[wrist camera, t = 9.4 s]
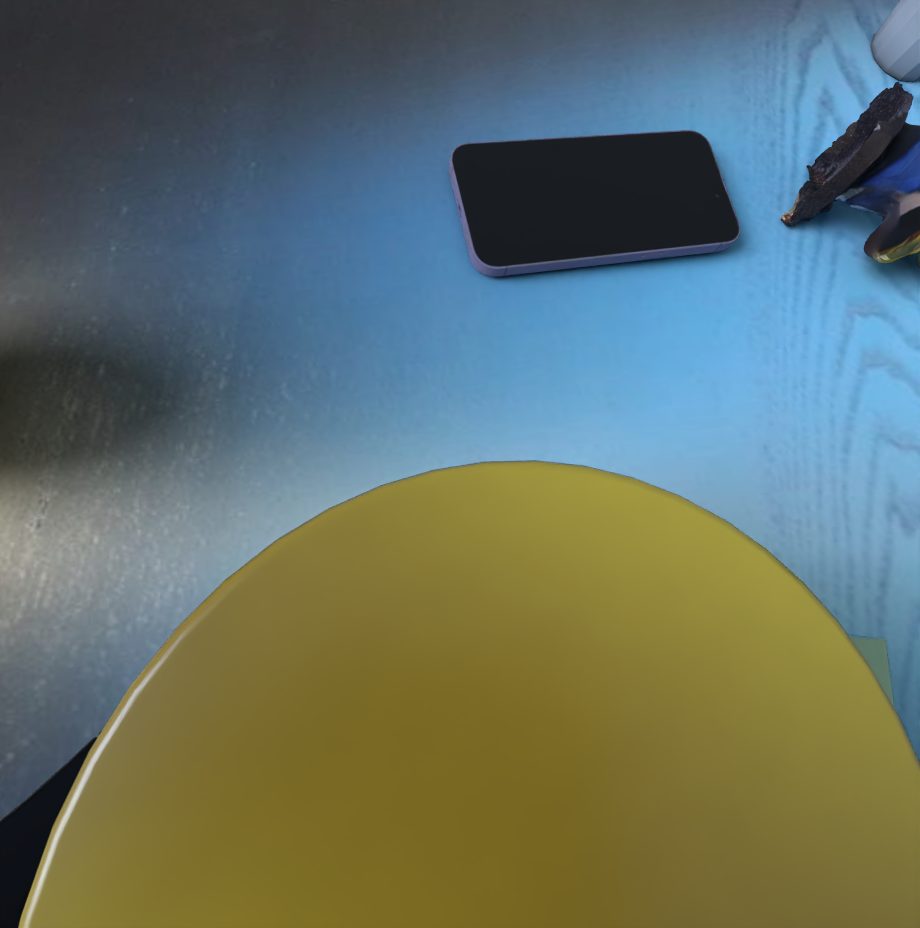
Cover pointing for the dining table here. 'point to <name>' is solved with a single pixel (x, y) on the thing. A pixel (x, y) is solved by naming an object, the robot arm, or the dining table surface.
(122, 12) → the dining table surface
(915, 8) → the cup
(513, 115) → the dining table surface
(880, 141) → the figurine
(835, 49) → the dining table surface
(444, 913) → the yellow tumbler
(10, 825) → the robot arm
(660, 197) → the smartphone
